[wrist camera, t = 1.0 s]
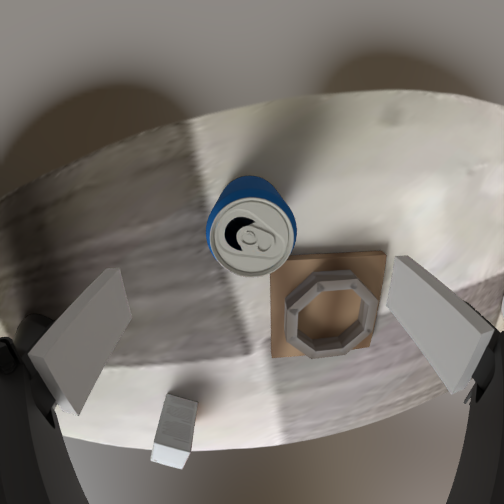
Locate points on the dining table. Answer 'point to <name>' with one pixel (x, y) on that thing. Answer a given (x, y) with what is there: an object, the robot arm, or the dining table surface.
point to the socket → (325, 303)
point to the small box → (174, 432)
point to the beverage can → (251, 228)
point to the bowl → (502, 307)
